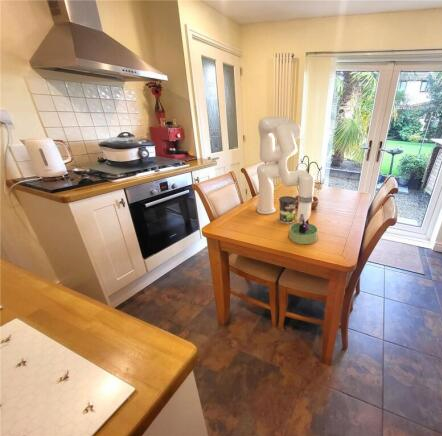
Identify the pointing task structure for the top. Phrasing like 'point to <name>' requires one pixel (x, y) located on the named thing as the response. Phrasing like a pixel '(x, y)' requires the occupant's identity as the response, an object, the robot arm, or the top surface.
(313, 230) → the bowl
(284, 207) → the coffee can
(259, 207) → the robot arm
